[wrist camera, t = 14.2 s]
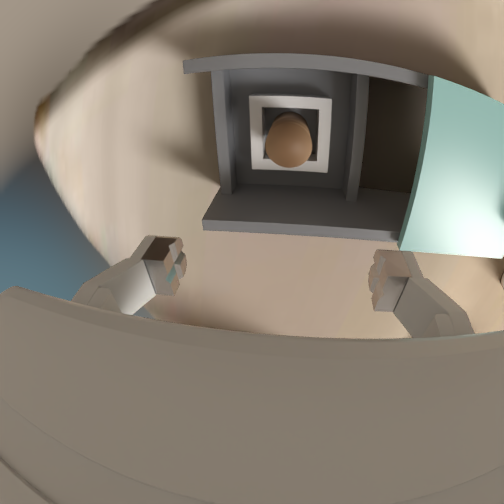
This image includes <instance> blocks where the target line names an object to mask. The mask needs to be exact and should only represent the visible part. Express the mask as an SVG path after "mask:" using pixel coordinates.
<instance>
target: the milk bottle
mask: <svg viewBox="0 0 504 504" xmlns="http://www.w3.org/2000/svg"><path fill="white" fill-rule="evenodd" d="M501 284H502V287H503V289H504V273H503V276H502V279H501Z"/></svg>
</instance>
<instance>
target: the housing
mask: <svg viewBox="0 0 504 504" xmlns="http://www.w3.org/2000/svg"><path fill="white" fill-rule="evenodd" d="M183 69H184V74H189V73H199V72H209V71H211V80H212V94H213V107H214V120H215V132H216V143H217V154H218V165H219V175H220V186H221V187H220V189H219V190H218V192H217V194H216V196H215V197H214V199H213V201H212V203H211V204H210V206H209V208H208V210H207V212H206V213H205V215H204V217H203V219H202V224H203V230H209V231H230V232H250V233H268V234H286V235H302V236H318V237H333V238H347V239H361V240H374V241H387V242H398V239H399V236H400V232H401V229H402V225H403V222H404V218H405V215H406V211H407V207H408V203H409V199H410V195H411V194H410V193H403V192H395V191H387V190H379V189H370V188H360V187H359V182H360V175H361V167H362V159H363V151H364V142H365V133H366V122H367V109H368V94H369V76H370V77H376V78H381V79H387V80H391V81H396V82H401V83H405V84H409V85H413V86H417V87H421V88H424V89H428V77H429V75H426V74H423V73H419V72H416V71H412V70H408V69H404V68H400V67H396V66H391V65H386V64H382V63H376V62H371V61H365V60H359V59H352V58H345V57H336V56H326V55H314V54H295V53H254V54H235V55H223V56H213V57H205V58H197V59H190V60H184V61H183ZM284 112H295V113H298V114H300V115H301V116H302V117H304V119H305V120H306V121H307V124H308V127H309V132H310V137H311V141H312V152H311V155H310V157H309V158H308V160H307V161H306V162H305V163H303V164H302V165H300V166H298V167H294V168H285V167H281V166H279V165H277V164H275V163H274V162H273V161H272V160H271V159H270V158H269V157H268V155H267V152H266V149H265V142H266V138H267V136H268V133H269V131H270V128H271V126H272V123H273V121H274V119H275V118H276V117H277V116H278V115H280V114H281V113H284Z"/></svg>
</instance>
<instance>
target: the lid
mask: <svg viewBox="0 0 504 504" xmlns="http://www.w3.org/2000/svg"><path fill="white" fill-rule="evenodd" d="M397 246H398V248H399V250H401V251H414V252H427V253H440V254H452V255H464V256H476V257H488V258H499V259H502V258H503V256H504V104H502V103H500V102H498V101H496V100H494V99H492V98H490V97H488V96H486V95H483V94H481V93H479V92H477V91H474V90H472V89H469V88H467V87H464V86H462V85H459V84H456V83H454V82H451V81H448V80H445V79H442V78H439V77H436V76H432V75H429V77H428V91H427V102H426V112H425V120H424V127H423V134H422V141H421V147H420V153H419V158H418V163H417V168H416V173H415V178H414V182H413V187H412V191H411V195H410V199H409V203H408V207H407V211H406V215H405V218H404V222H403V225H402V229H401V232H400V236H399V239H398V242H397Z"/></svg>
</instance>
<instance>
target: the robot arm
mask: <svg viewBox="0 0 504 504" xmlns="http://www.w3.org/2000/svg"><path fill="white" fill-rule="evenodd" d="M182 248H183V243H182V239H181V238H179V237H167V236H151V235H148V236H145V238H144V239H143V240H142V242H141V243H140V245H139V246H138V247H137V249H136V250H135V251H134V253H133V254H132V256H131V257H130V258H126V259H124V260H123V261H121V262H119V263H117V264H116V265H114V266H112V267H110V268H109V269H107V270H105V271H103V272H102V273H100V274H98V275H97V276H95V277H94V278H91V279H90V280H88V281H86V282H85V283H83V285H82V286H81V287H80V289H79V290H78V292H77V293H76V294H75V296H74V297H73V299H72V300H71V301H67V300H64V299H60V298H56V297H53V296H49V295H45V294H42V293H39V292H35V291H32V290H28V289H25V288H22V287H19V286H13V287H10V288H9V289H7V290H5V291H4V292H2V293H1V294H0V504H504V330H502V331H495V332H487V333H478V334H474V331H473V328H472V326H471V323H470V321H469V318H468V315H467V313H466V312H465V311H464V310H463V309H462V308H461V307H460V306H459V305H458V304H457V303H455V302H454V301H453V300H452V299H451V298H450V297H449V296H447V295H446V294H445V293H444V292H443V291H442V290H440V289H439V288H438V287H437V286H436V285H435V284H433V283H432V282H431V281H430V280H429V279H427V278H424V277H423V274H422V272H421V270H420V268H419V265H418V263H417V261H416V259H415V257H414V254H413V252H411V251H393V250H376V252H375V254H374V257H373V258H374V262H375V264H373V265H372V266H371V268H370V271H369V278H368V283H369V289H370V291H371V292H372V293H373V295H372V298H371V299H372V304H373V309H374V311H384V312H393V313H394V314H395V316H396V317H397V318H398V319H399V321H400V322H401V323H402V324H403V326H404V327H405V328H406V330H407V331H408V332H409V333H410V335H411V336H412V337H413V338H396V339H350V338H319V337H300V336H285V335H273V334H261V333H251V332H241V331H232V330H223V329H215V328H207V327H200V326H193V325H186V324H179V323H173V322H167V321H161V320H155V319H149V318H144V317H139V316H134V315H132V314H134V313H135V312H136V311H137V310H139V309H140V308H141V307H142V306H143V305H145V304H146V303H147V302H148V301H149V300H151V299H152V298H153V297H154V296H155V295H156V294H160V295H170V296H175V294H176V291H177V289H178V287H179V285H180V283H179V279H181V278H182V277H183V276H184V274H185V272H186V266H187V260H186V255H185V254H184V253H183V252H182V251H181V250H182Z"/></svg>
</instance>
